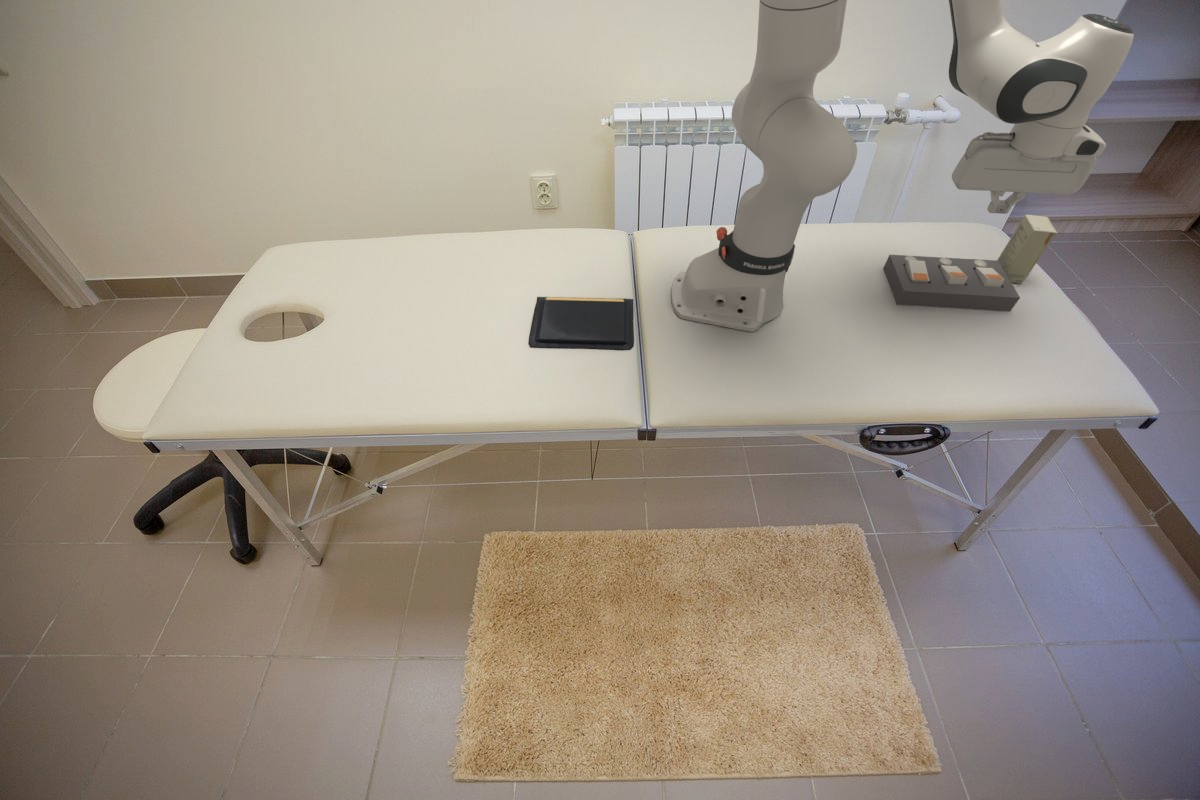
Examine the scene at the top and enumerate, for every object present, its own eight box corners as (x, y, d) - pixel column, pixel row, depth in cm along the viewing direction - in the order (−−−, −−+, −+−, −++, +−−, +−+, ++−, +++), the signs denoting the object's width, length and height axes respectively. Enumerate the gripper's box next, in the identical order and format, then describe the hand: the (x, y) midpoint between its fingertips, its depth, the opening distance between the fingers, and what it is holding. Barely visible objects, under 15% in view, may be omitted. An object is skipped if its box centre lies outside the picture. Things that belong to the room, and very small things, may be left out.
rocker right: (983, 286, 113) (987, 277, 112) (972, 275, 117) (976, 266, 116) (1000, 287, 113) (1004, 278, 112) (988, 276, 117) (992, 267, 116)
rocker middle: (947, 284, 113) (951, 275, 112) (937, 273, 117) (941, 264, 116) (963, 285, 113) (968, 276, 112) (953, 274, 117) (957, 265, 116)
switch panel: (896, 304, 114) (904, 290, 111) (883, 268, 122) (889, 254, 119) (1010, 311, 113) (1020, 297, 110) (988, 274, 121) (998, 260, 118)
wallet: (525, 342, 105) (537, 290, 115) (526, 349, 106) (537, 297, 116) (633, 347, 104) (635, 294, 114) (633, 355, 106) (635, 302, 116)
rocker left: (908, 285, 115) (913, 279, 113) (904, 266, 117) (908, 259, 116) (925, 286, 115) (929, 280, 113) (920, 266, 117) (925, 260, 115)
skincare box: (1022, 284, 118) (1058, 233, 109) (1000, 282, 119) (1034, 231, 110) (1014, 266, 123) (1048, 215, 113) (992, 263, 123) (1025, 213, 114)
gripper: (982, 140, 90) (942, 218, 100) (1117, 146, 89) (1062, 224, 99) (969, 123, 94) (931, 199, 104) (1098, 128, 93) (1047, 205, 103)
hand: (996, 211), depth 102 cm, fingers closed
